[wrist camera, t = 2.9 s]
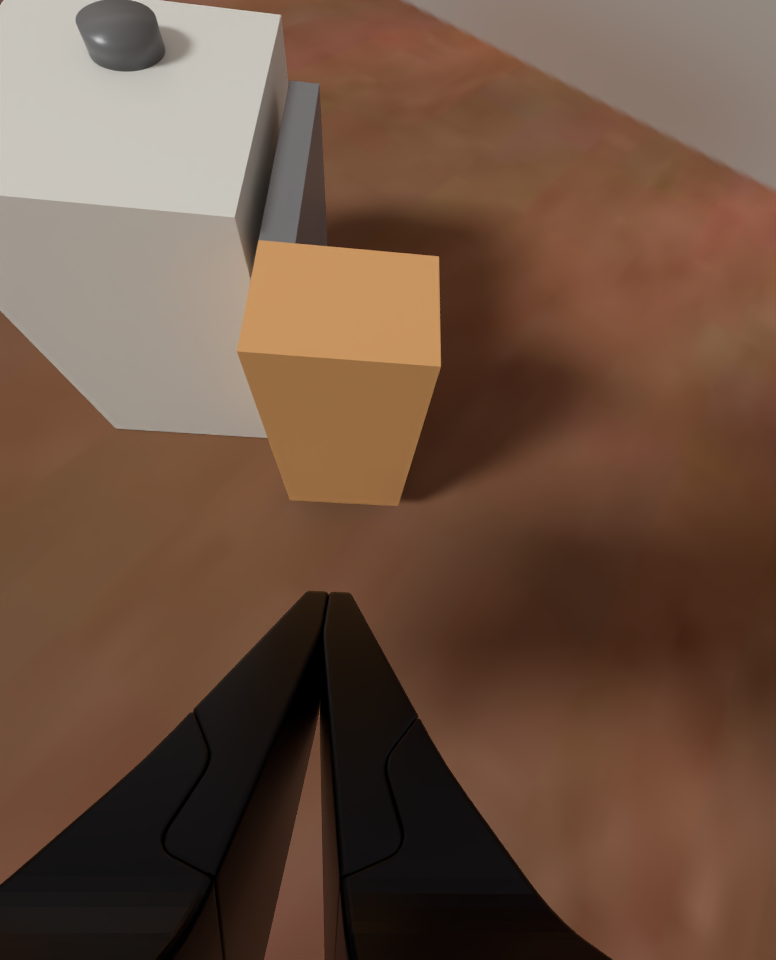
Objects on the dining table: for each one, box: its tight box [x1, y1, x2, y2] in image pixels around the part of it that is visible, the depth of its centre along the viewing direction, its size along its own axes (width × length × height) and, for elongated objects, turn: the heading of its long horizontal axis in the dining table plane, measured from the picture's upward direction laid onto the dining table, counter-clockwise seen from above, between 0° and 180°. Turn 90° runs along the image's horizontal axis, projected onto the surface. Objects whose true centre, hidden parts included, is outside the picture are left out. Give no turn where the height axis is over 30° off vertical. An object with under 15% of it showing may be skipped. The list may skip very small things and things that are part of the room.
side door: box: [237, 81, 441, 506], centre depth 14 cm, size 9×4×8 cm, turn 178°
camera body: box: [0, 0, 288, 438], centre depth 15 cm, size 10×7×11 cm
